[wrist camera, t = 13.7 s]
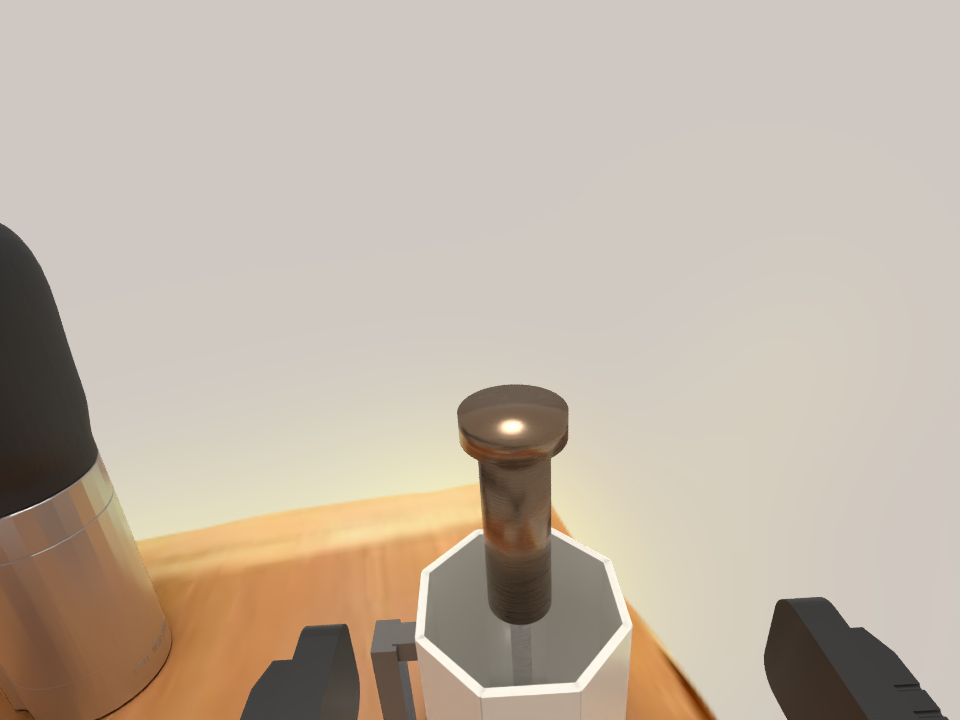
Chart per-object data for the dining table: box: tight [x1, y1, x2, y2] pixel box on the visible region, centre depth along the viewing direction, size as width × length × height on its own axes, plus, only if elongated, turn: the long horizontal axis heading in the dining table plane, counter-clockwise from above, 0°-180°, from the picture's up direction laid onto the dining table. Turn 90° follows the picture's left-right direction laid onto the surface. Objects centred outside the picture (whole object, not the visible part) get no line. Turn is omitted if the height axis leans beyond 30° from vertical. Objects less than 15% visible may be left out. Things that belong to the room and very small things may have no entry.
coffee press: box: [371, 527, 633, 720], centre depth 29 cm, size 13×16×16 cm
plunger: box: [457, 385, 568, 687], centre depth 26 cm, size 8×8×23 cm
